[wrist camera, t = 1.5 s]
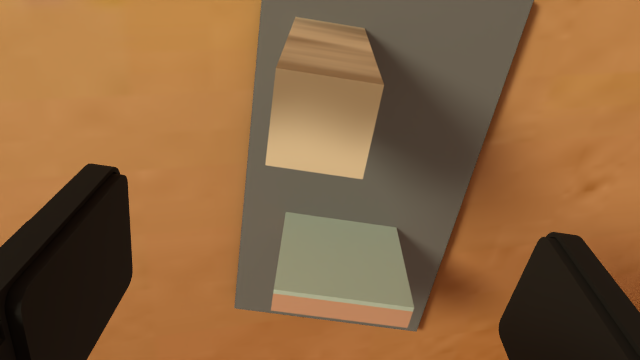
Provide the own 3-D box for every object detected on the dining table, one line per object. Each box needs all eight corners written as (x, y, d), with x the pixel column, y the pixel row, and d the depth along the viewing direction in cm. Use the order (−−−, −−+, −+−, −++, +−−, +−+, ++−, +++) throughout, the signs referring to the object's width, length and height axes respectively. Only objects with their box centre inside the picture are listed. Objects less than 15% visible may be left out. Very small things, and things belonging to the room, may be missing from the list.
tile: (391, 245, 34) (407, 328, 27) (283, 230, 34) (270, 310, 26) (396, 227, 33) (414, 307, 26) (285, 211, 33) (273, 289, 26)
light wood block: (351, 94, 29) (362, 179, 19) (287, 84, 28) (265, 165, 19) (364, 28, 27) (383, 85, 17) (295, 16, 26) (276, 67, 17)
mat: (415, 325, 39) (416, 331, 38) (235, 303, 38) (234, 308, 37) (529, -3, 26) (534, -1, 26) (267, -48, 25) (265, -48, 25)
